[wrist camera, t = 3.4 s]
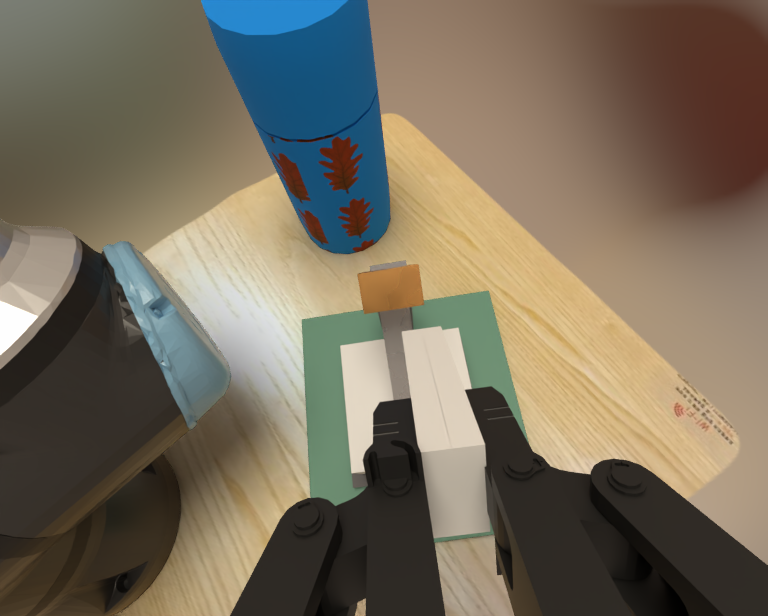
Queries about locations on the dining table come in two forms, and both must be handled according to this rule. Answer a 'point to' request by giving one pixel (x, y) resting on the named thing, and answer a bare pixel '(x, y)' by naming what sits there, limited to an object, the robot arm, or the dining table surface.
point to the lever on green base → (385, 381)
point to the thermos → (313, 108)
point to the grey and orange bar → (393, 314)
